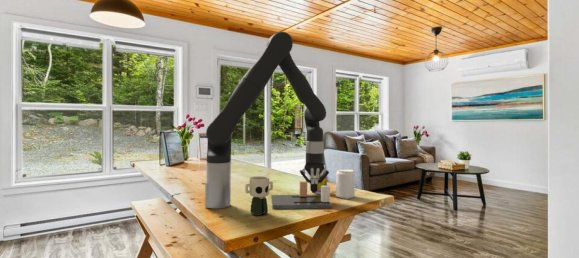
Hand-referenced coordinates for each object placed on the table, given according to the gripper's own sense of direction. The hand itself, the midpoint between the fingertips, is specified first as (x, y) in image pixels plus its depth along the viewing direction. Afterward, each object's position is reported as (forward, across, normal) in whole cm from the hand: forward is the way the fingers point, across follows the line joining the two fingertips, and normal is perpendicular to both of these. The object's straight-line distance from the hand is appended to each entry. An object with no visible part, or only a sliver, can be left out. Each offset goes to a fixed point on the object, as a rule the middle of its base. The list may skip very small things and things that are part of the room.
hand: (313, 192), depth 129 cm
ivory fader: (+1, +3, -9) cm, 10 cm away
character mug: (+4, -23, -18) cm, 29 cm away
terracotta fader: (+1, -5, 0) cm, 5 cm away
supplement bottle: (+4, +5, +13) cm, 14 cm away
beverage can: (+4, +15, +5) cm, 16 cm away
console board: (+3, -6, -4) cm, 9 cm away
